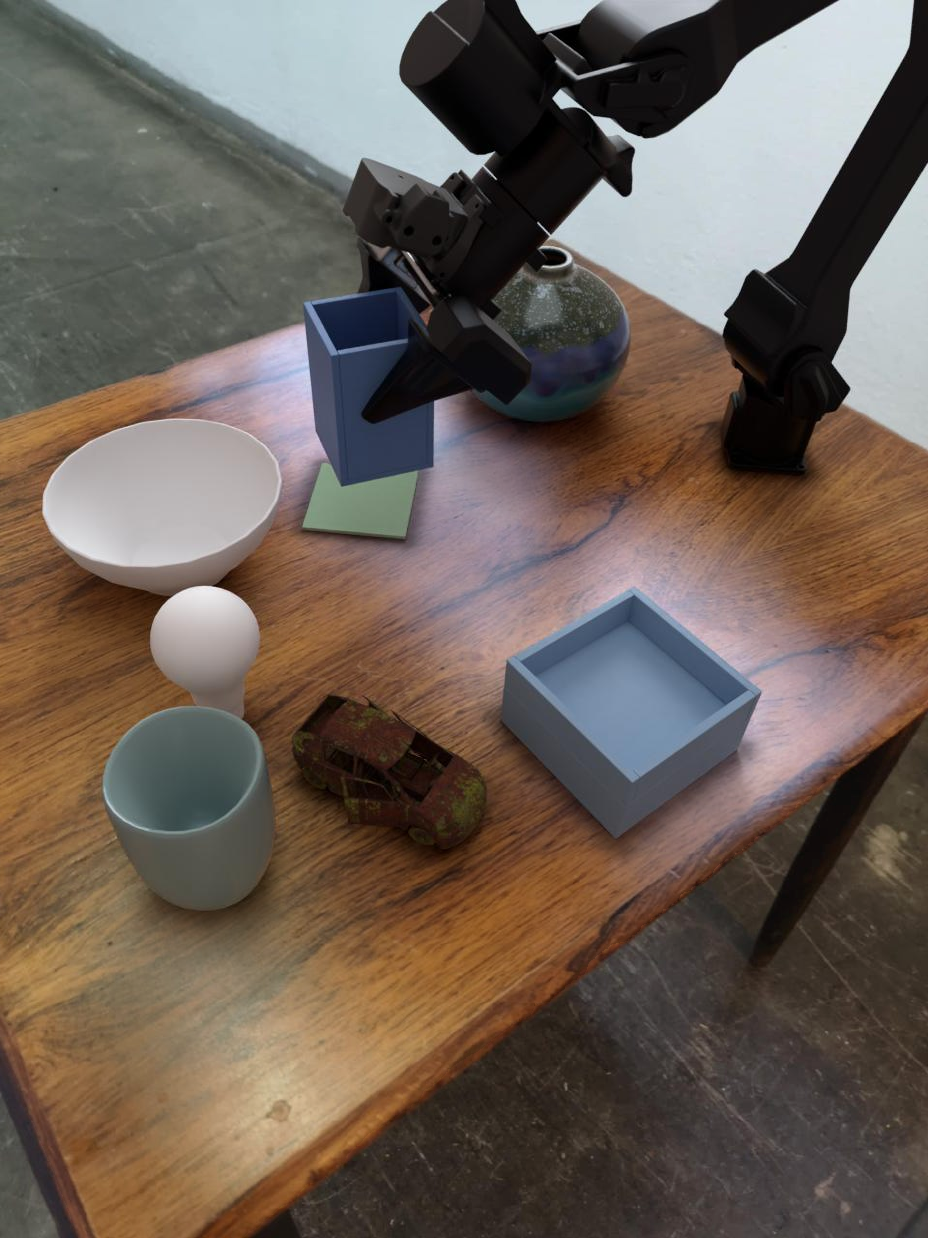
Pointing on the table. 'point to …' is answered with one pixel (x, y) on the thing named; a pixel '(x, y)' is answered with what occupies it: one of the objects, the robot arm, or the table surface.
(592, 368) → the vase
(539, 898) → the table surface
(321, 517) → the mat
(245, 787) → the cup
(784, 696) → the table surface
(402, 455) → the upper bin
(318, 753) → the toy car
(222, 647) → the lightbulb
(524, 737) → the lower bin
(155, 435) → the bowl
